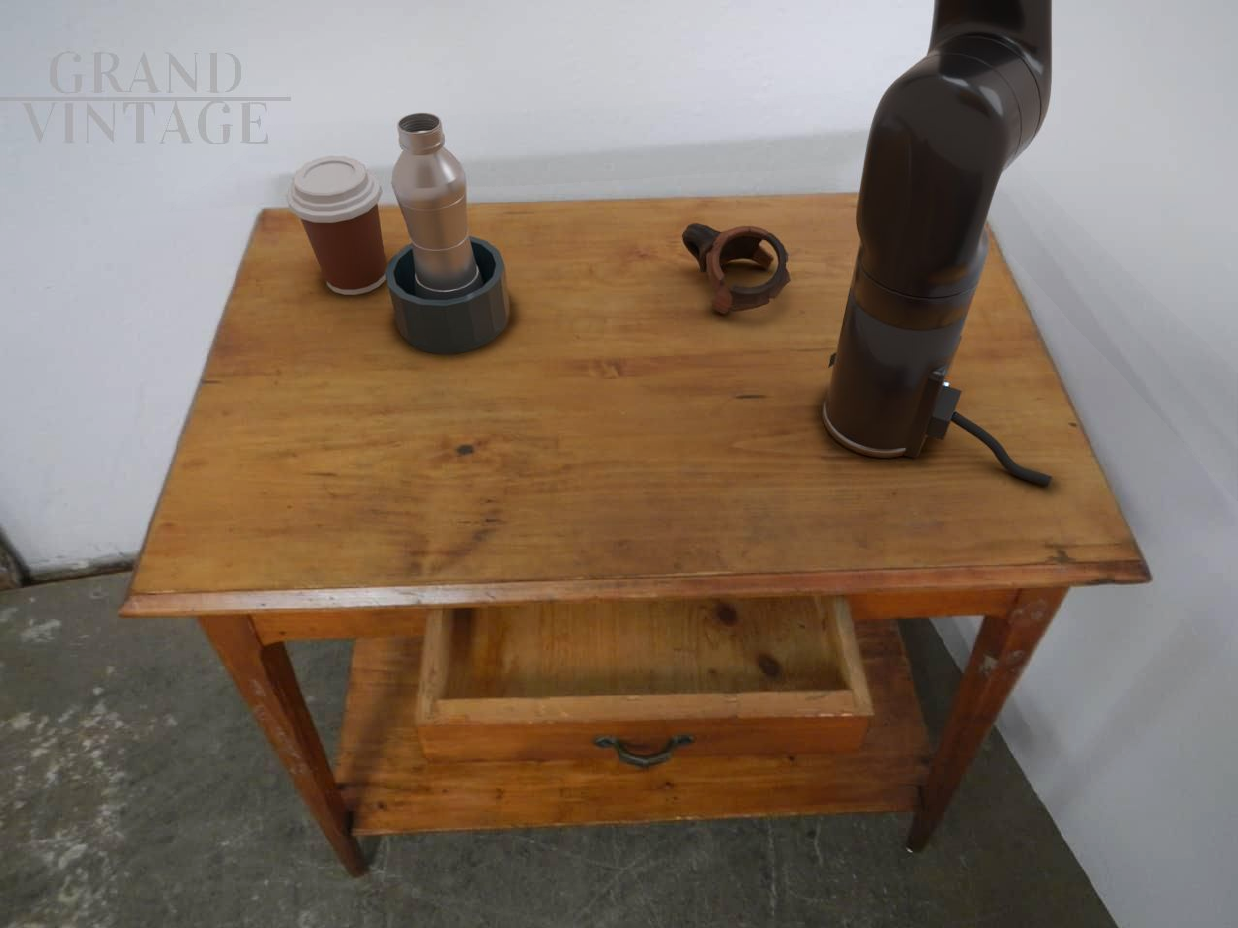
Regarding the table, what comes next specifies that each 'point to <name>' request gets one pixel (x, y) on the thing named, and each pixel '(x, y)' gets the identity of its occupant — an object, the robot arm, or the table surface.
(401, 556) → the table surface
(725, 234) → the brown ring bracket
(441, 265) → the tan bottle
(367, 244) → the coffee cup
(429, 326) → the bowl
